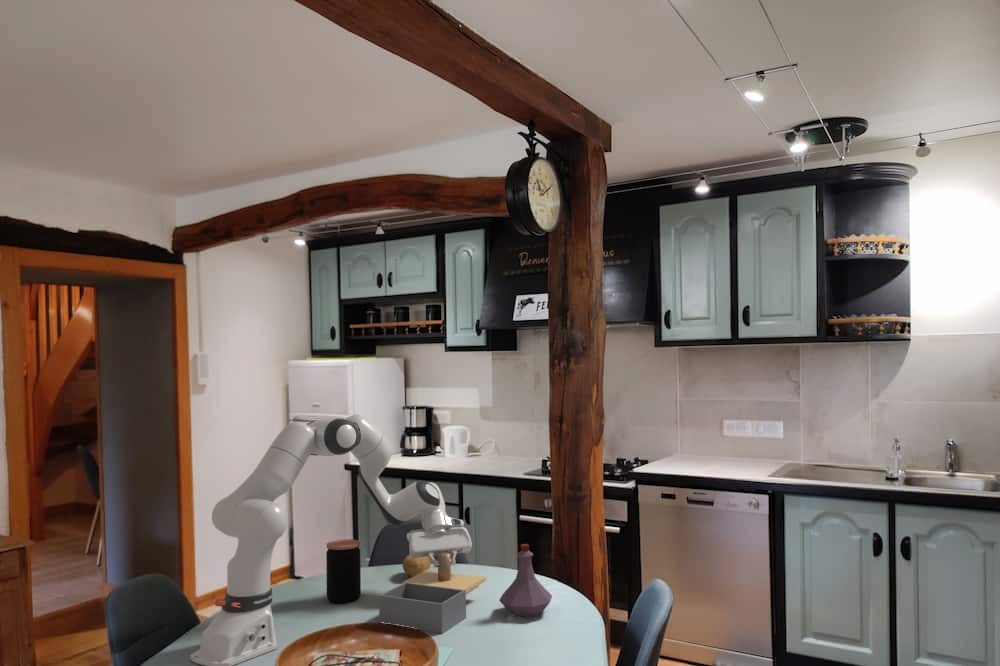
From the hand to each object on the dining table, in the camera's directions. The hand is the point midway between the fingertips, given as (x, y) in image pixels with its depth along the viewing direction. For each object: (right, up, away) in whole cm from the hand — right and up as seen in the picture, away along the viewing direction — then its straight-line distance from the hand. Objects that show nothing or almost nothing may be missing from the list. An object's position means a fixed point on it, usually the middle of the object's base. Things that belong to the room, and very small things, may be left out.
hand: (444, 565), depth 228 cm
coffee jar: (-33, -12, +3) cm, 35 cm away
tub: (-5, -10, -18) cm, 21 cm away
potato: (-12, -13, +28) cm, 33 cm away
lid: (0, -7, 0) cm, 7 cm away
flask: (+25, -10, -12) cm, 30 cm away
